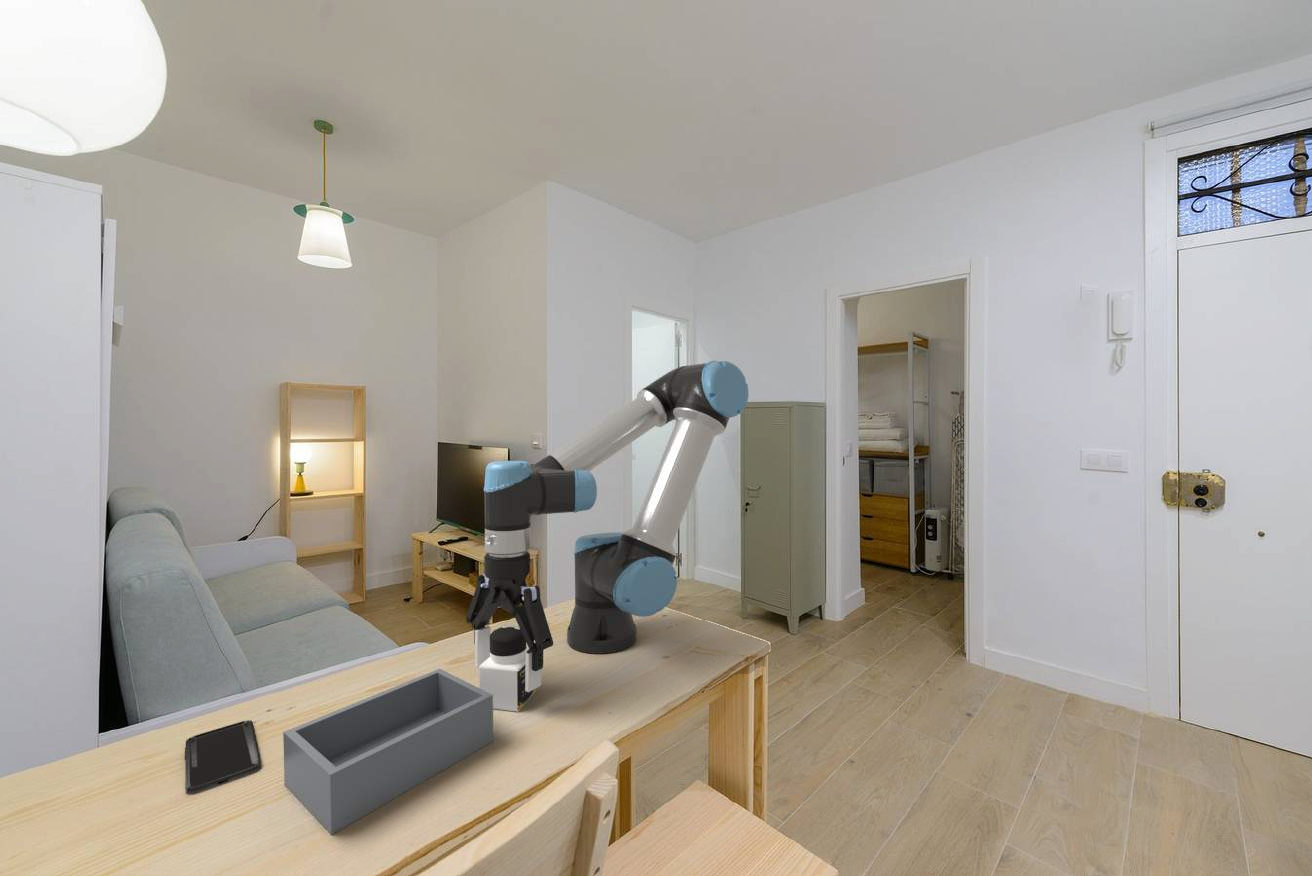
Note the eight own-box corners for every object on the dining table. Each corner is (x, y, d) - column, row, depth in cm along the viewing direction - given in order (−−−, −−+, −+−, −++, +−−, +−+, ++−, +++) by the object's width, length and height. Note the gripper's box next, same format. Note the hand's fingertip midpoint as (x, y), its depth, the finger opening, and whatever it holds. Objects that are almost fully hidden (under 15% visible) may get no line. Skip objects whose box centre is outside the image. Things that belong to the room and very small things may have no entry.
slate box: (440, 710, 86) (439, 668, 86) (493, 741, 78) (492, 694, 78) (284, 784, 68) (283, 732, 68) (331, 834, 60) (330, 775, 60)
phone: (251, 718, 83) (262, 764, 71) (252, 725, 83) (262, 772, 71) (184, 738, 77) (184, 791, 66) (184, 746, 77) (184, 800, 66)
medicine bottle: (518, 712, 86) (517, 640, 85) (478, 708, 87) (477, 636, 87) (536, 690, 93) (536, 623, 92) (499, 686, 94) (499, 620, 94)
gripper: (445, 545, 94) (445, 663, 94) (539, 569, 79) (538, 709, 79) (481, 538, 100) (481, 649, 100) (575, 559, 85) (574, 689, 85)
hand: (506, 676), depth 90 cm, fingers open, 13 cm apart
